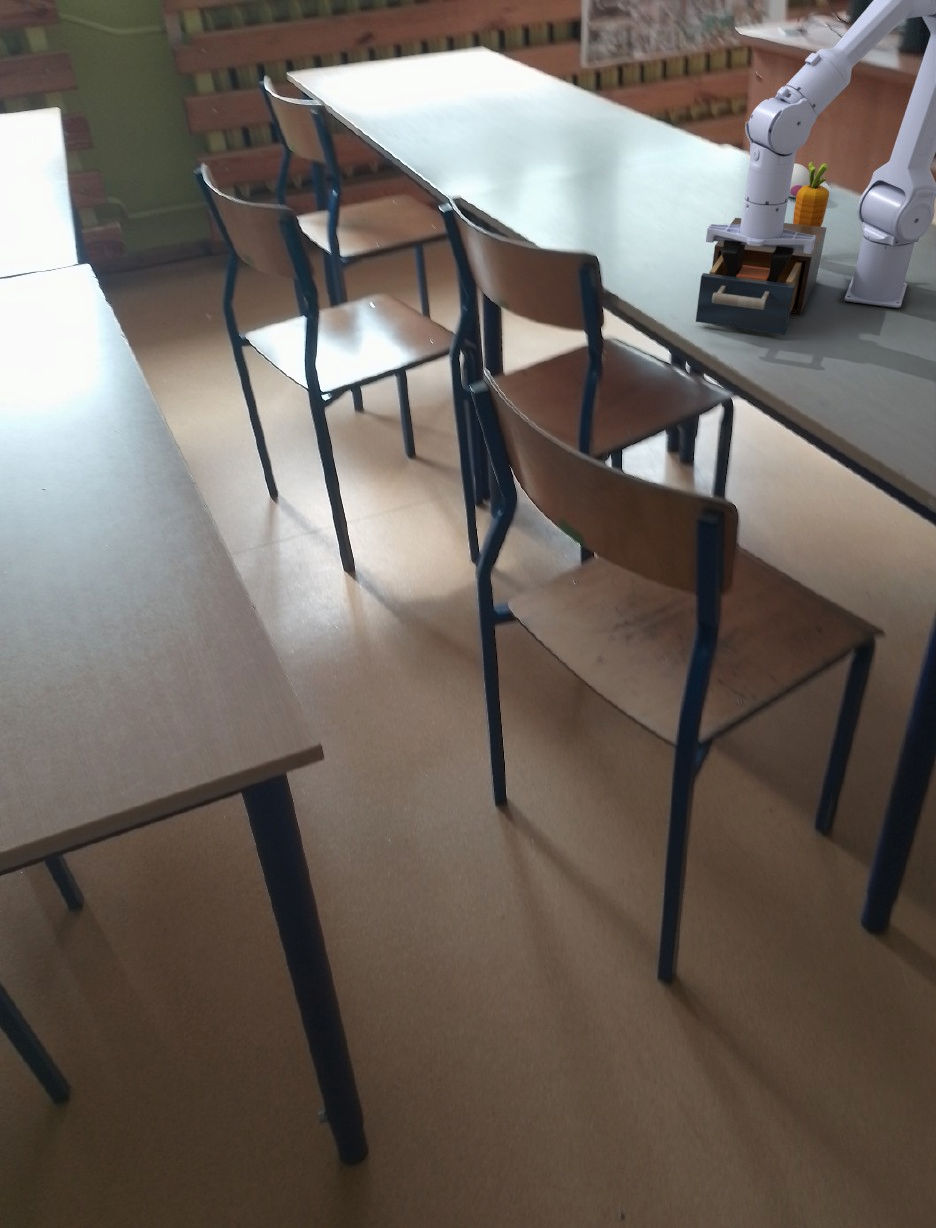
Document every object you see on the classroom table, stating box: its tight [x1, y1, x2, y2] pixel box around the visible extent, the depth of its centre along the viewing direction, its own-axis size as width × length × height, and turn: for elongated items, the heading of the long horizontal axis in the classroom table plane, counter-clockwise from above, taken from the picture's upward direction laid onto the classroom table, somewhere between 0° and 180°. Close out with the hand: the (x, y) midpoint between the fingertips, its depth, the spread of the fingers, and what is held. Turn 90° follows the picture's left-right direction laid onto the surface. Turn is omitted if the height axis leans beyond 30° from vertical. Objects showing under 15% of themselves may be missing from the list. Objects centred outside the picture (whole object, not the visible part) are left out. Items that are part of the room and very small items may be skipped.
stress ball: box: [788, 162, 810, 199], centre depth 186 cm, size 8×8×7 cm
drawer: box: [695, 254, 804, 335], centre depth 140 cm, size 17×13×7 cm
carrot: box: [792, 161, 830, 227], centre depth 157 cm, size 5×5×15 cm
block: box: [737, 265, 770, 281], centre depth 141 cm, size 4×4×5 cm
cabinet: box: [711, 217, 827, 315], centre depth 149 cm, size 13×14×8 cm
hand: (750, 296), depth 142 cm, fingers closed on block, 4 cm apart
